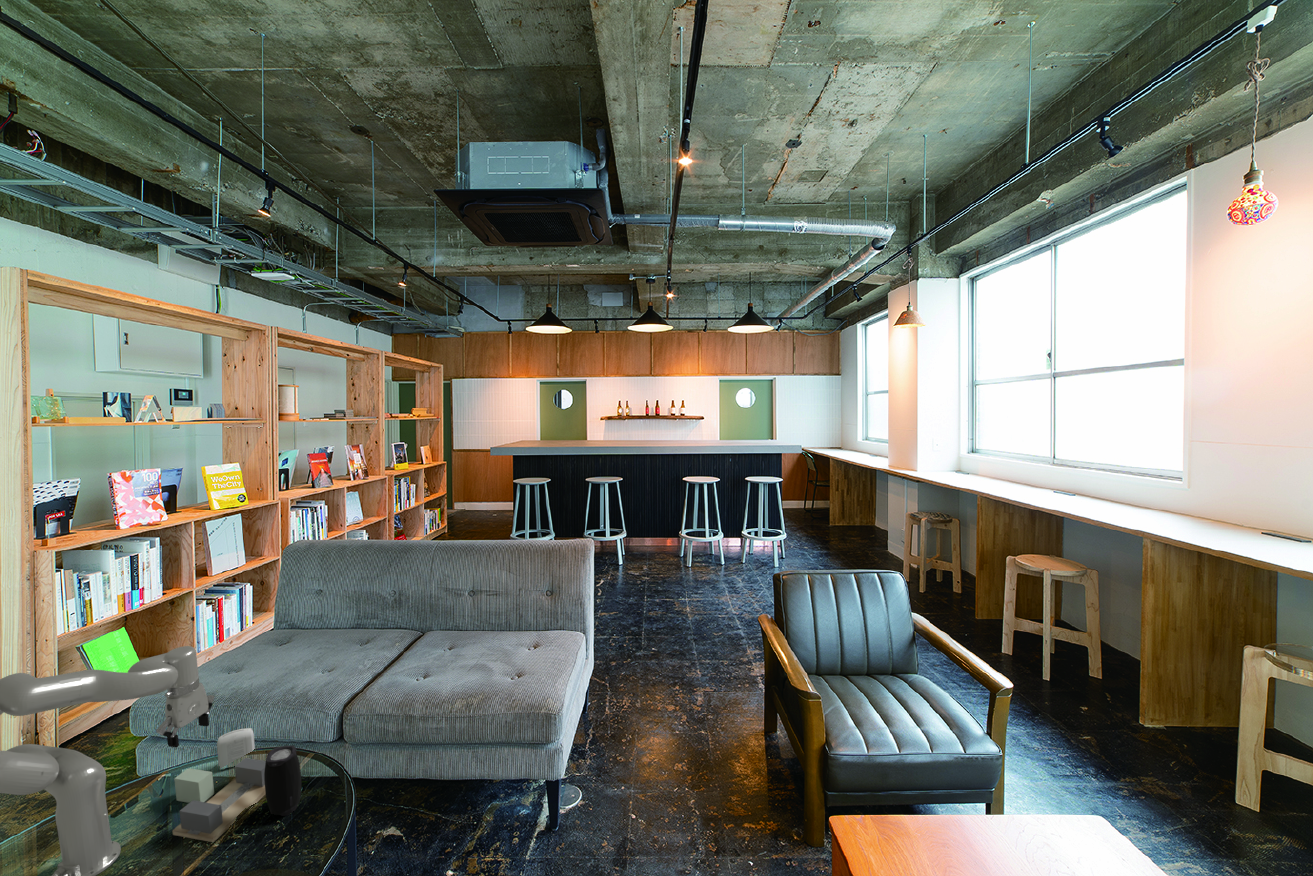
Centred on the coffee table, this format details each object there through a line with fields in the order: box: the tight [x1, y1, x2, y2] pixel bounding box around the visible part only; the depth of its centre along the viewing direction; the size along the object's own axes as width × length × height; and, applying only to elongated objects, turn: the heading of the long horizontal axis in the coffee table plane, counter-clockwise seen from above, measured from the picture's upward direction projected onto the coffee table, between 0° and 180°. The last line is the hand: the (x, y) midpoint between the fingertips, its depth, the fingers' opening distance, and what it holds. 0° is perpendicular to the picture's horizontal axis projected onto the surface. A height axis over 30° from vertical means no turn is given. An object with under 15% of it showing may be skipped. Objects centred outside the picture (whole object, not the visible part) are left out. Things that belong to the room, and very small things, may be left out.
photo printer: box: [216, 727, 256, 768], centre depth 189 cm, size 10×4×12 cm, turn 123°
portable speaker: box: [264, 744, 302, 817], centre depth 171 cm, size 9×9×20 cm
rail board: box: [172, 758, 266, 843], centre depth 172 cm, size 24×14×8 cm, turn 171°
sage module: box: [173, 767, 215, 804], centre depth 175 cm, size 4×9×8 cm, turn 81°
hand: (189, 735), depth 172 cm, fingers open, 9 cm apart
